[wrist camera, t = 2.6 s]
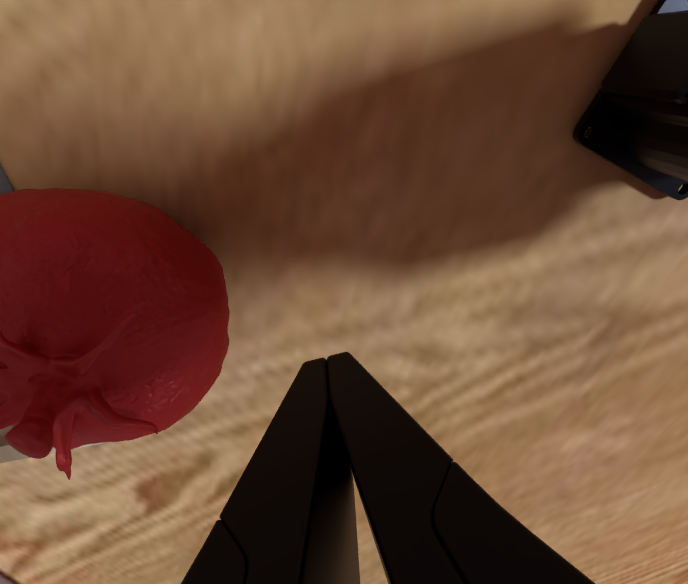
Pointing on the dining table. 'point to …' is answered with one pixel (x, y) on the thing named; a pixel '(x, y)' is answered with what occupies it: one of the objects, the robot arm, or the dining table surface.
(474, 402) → the dining table surface
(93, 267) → the pomegranate
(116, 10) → the dining table surface
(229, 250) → the dining table surface
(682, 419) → the dining table surface
